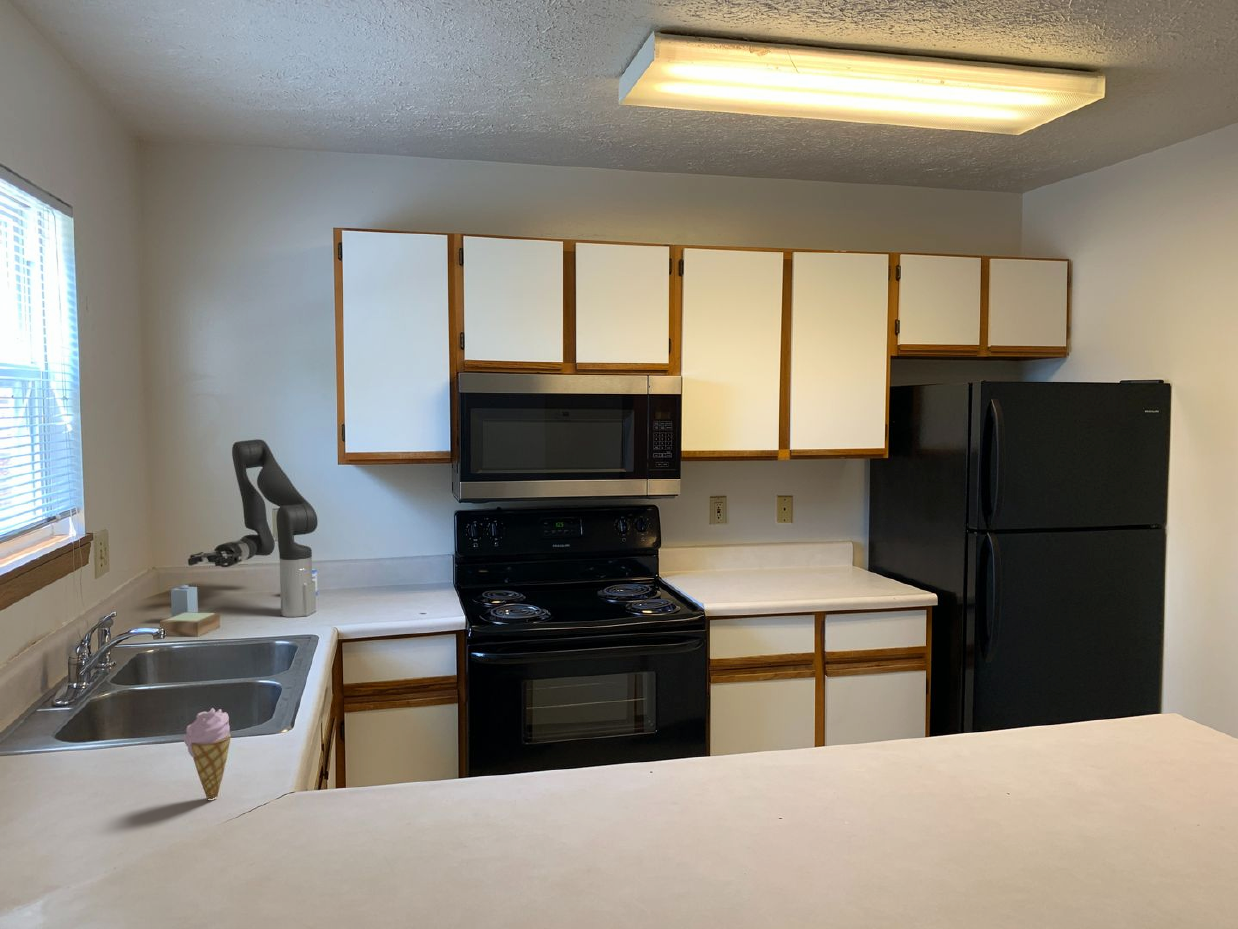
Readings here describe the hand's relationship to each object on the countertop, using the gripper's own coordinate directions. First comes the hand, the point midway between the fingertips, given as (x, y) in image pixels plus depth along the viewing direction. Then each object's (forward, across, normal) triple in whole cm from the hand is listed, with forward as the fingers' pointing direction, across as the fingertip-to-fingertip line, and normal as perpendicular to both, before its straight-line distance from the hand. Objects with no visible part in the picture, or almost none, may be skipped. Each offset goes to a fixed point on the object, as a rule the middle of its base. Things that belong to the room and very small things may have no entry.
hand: (202, 562), depth 268 cm
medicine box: (-28, +18, +16) cm, 37 cm away
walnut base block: (+20, +8, +16) cm, 27 cm away
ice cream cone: (+121, +74, +14) cm, 143 cm away
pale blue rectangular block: (+10, 0, +16) cm, 19 cm away
